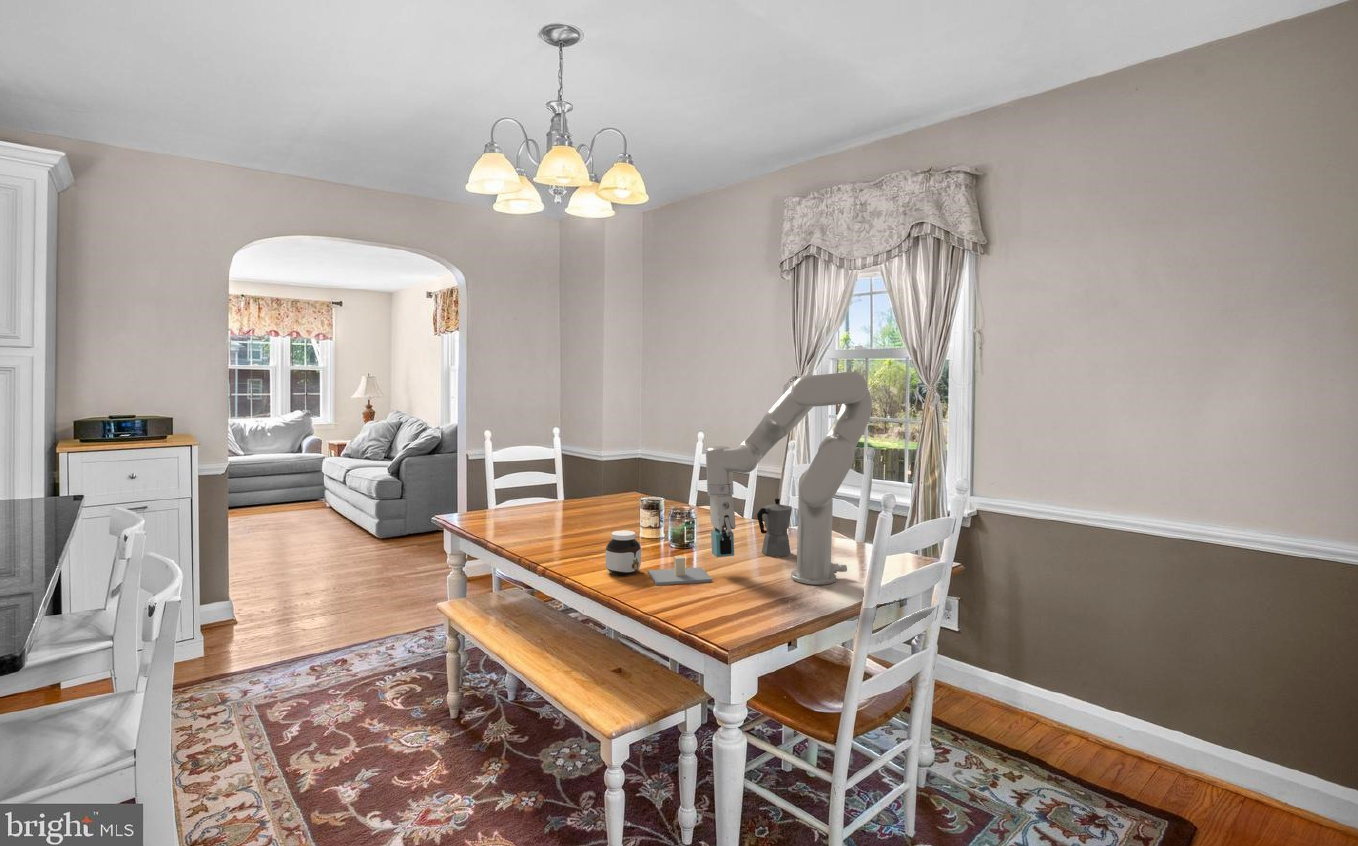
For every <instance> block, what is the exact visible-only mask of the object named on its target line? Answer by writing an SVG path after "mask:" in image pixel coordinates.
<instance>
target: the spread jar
mask: <svg viewBox="0 0 1358 846" xmlns="http://www.w3.org/2000/svg"><path fill="white" fill-rule="evenodd" d="M604 557H605V560H604V561H605V568H606V570H607V571H608V572H609V573H610V574H612V575H614V576H618V577H625V576H626V577H628V576H633V575H635V574H636V573H637V572H638V571H639V570H640V567H641V565H642V564H641V563H642V547H641V544H640V543H639V541H638V540H637V539H636V532H635V531H633V530H632V531H631V530H623V529H622V530H614V531H612V532H611V539H610V540H609V541H608V543H607V545H606V548H605V555H604Z"/></svg>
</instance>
